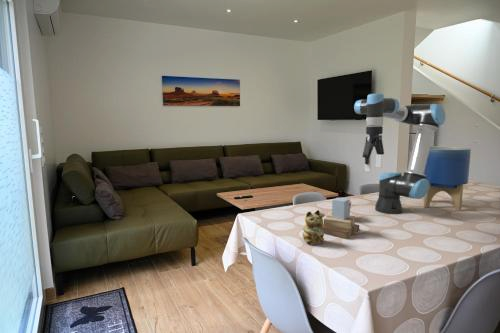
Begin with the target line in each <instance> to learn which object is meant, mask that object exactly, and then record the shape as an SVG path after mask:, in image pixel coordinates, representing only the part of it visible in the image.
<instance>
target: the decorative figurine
mask: <svg viewBox="0 0 500 333" xmlns="http://www.w3.org/2000/svg"><path fill="white" fill-rule="evenodd" d="M325 217H326V215H325V213H324V212H320V210H319V209H315V211H313V213H312V212H311V211H307V212H306V214H305V217H304V221H305V225H304V226H303V228H302V230H303V231H302V237H303V240H304V241H305V242H306V243H309V245H310V246H311V245H320V244H321V241H322V242H323V241H325V238H324V236H325V234H324V232H323V231H322V230H320V228H321V227H322V226H323V224H324V218H325Z"/></svg>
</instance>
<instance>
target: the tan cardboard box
mask: <svg viewBox="0 0 500 333" xmlns="http://www.w3.org/2000/svg"><path fill="white" fill-rule="evenodd" d="M320 230H322V231H323V232H324V235H328V236H332V237H335V238H340V239H343V240H348V239H349V238H351V237H353V236H355V235H357V233H359V232H360V224H356V223H355V224H354V226H353V227H352V228H351V229H350V231H345V230H338V229H332V228H325V227H324V223H323V226H322V227H321V228H320Z"/></svg>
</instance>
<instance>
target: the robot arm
mask: <svg viewBox="0 0 500 333" xmlns="http://www.w3.org/2000/svg"><path fill="white" fill-rule="evenodd" d="M353 108H354V112H355V114H358V115H366V119H365V121H366V124H365V125H366V126H365V133H366V135H369V136H366V137H365V143H364V147H363V152H362V158H364V170H363V171H365V172H372V171H371V170H372V168H371V167H372V157H371V156H372V153H373V150H374V149H375V152H376V154H375V168H382V164H383V162H382V160H383V155H384V154H385V150H384V144H383V136H382V134H383V133H384V132H383V125H384V118H387V119H392V120H394V121H396V122H399V123H403V124H407V125H411V126H414V127H415V128H416V134H415V138H414V142H413V146H412V150H411V155H410V159H409V163H408V167H407V170H405V171H404V172H403V175H402V172H398V171H397V172H395V171H394V172H393V171H390V172H382V173H381V174H380V175H379V185H378V198H377V201H376V203H375V206H374V211H377V212H379V213H384V214H392V215H393V214H394V215H395V214H402V212H403V205H402V202H401V197H406V198H409V199H413V200H414V199H417V200H421V199H423V198H424V196H425V195H426V194H427V192H428V190H429V181H428V180H427V179H426V178H427V176H426V175H425V169H426V164H427V160H428V156H429V152H430V147H431V146H432V144H433V143H432V142H433V139H434V138H433V137H434V135H435V134H434V133H435V132H436V131H438V130H439V126H442V125H444V123H445V121H446V112H445V111H446V110H445V109H444V106H442V105H441V104H439V103H425V104H410V105H409V104H408V105H403V104H401V105H400V101H399V100H398V98H394V97H385V96H384V94H383V93H369V94H368V95H367V98H366V99H359V100H356V101H355V103H354V106H353Z"/></svg>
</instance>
